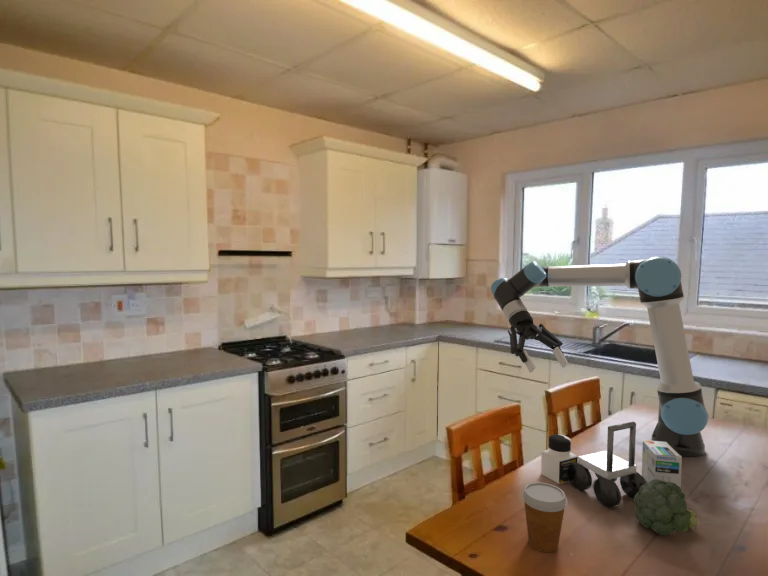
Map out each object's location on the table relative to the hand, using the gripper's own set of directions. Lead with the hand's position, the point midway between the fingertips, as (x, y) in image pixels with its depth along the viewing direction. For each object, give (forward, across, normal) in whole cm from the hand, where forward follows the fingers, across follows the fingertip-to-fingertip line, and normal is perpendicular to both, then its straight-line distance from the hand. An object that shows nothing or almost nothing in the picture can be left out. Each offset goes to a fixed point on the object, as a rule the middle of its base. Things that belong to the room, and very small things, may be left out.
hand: (549, 367), depth 147 cm
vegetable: (+50, +5, +9) cm, 52 cm away
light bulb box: (+40, -14, -1) cm, 43 cm away
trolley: (+38, +4, -3) cm, 38 cm away
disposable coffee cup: (+45, +35, +4) cm, 57 cm away
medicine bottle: (+29, +9, -11) cm, 33 cm away
